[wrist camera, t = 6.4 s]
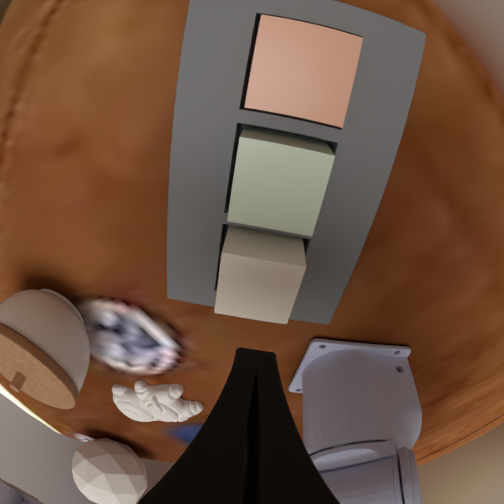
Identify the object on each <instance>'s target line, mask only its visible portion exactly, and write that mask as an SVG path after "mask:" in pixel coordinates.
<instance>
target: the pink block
mask: <svg viewBox="0 0 504 504" xmlns="http://www.w3.org/2000/svg"><path fill="white" fill-rule="evenodd" d="M362 41H363V38H362V37H359V36H355V35H352V34H349V33H345V32H342V31H338V30H335V29H331V28H327V27H323V26H319V25H315V24H310V23H306V22H301V21H296V20H291V19H286V18H280V17H274V16H268V15H261V18H260V23H259V29H258V34H257V39H256V45H255V50H254V56H253V61H252V67H251V72H250V78H249V84H248V90H247V95H246V101H245V108H252V109H258V110H263V111H269V112H274V113H280V114H285V115H290V116H295V117H299V118H304V119H309V120H313V121H317V122H321V123H326V124H330V125H334V126H338V127H341V128H343V124H344V120H345V116H346V112H347V108H348V104H349V100H350V95H351V91H352V87H353V82H354V78H355V74H356V69H357V65H358V60H359V55H360V51H361V46H362Z"/></svg>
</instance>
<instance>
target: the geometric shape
mask: <svg viewBox="0 0 504 504" xmlns="http://www.w3.org/2000/svg"><path fill="white" fill-rule="evenodd" d="M72 472H73V478H74V481H75V483H76V485H77V487H78V488H79V490H80V491H81V492H82V493H83V494H84V495H85V496H86V497H87V498H88V499H89V500H91V501H93V502H96V503H98V504H136V502H137V501H138V499H139V498H140V497H141V495H142V494H143V492H144V491H145V489H146V488H147V478H146V470H145V464H144V463H143V462H142V461H141V459H140V458H139V457H138V456H137V455H136V454H135V452H134V451H133V450H132V449H131V448H130V447H129V446H128V445H125V444H122V443H120V442H117V441H114V440H111V439H109V438H102V439H97V440H93V441H88V442H84V444H82V445H81V446H80V447H79V448H78V449H77V450H76V452H75V454H74V456H73V458H72Z"/></svg>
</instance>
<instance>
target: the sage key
mask: <svg viewBox="0 0 504 504" xmlns="http://www.w3.org/2000/svg"><path fill="white" fill-rule="evenodd" d="M334 158H335V155H334V153H333V152H332V150H331V149H330V147H329V146H328V144H327V143H326V141H324V140H319V139H315V138H311V137H306V136H302V135H297V134H292V133H287V132H282V131H277V130H272V129H266V128H261V127H255V126H249V125H245V127H244V129H243V131H242V133H241V135H240V138H239V144H238V151H237V157H236V164H235V170H234V177H233V184H232V190H231V197H230V204H229V211H228V218H227V221H229V222H234V223H240V224H246V225H252V226H257V227H263V228H268V229H274V230H279V231H285V232H290V233H296V234H301V235H306V236H312V235H313V232H314V228H315V225H316V222H317V218H318V215H319V212H320V208H321V205H322V201H323V198H324V194H325V191H326V187H327V184H328V180H329V177H330V173H331V169H332V166H333V162H334Z"/></svg>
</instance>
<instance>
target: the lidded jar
mask: <svg viewBox="0 0 504 504" xmlns="http://www.w3.org/2000/svg"><path fill="white" fill-rule="evenodd" d="M89 359H90V346H89V339H88V336H87V332H86V330H85V323H84V320H83V317H82V315H81V314H80V312H79V311H78V309H77V308H76V307H75V306H74V305H73V304H72V303H71V302H70V301H69V300H68V299H67V298H65V297H64V296H63V295H61V294H59V293H58V292H56V291H53V290H50V289H39V290H34V289H28V290H23V291H19V292H17V293H15V294H13V295H11V296H9V297H8V298H6V299H5V300H4V301H2V302H1V303H0V373H1V374H2V375H3V376H4V377H5V378H7V379H8V380H9V381H10V382H11V383H10V387H11V388H12V389H14V390H15V391H17V392H20V390H22V391H23V392H25V393H26V394H28V395H29V396H31V397H33V398H35V399H37V400H38V401H40V402H42V403H45V404H47V405H50V406H53V407H56V408H60V409H71V408H73V407H74V406H75V405H76V403H77V400H78V397H79V392H80V390H81V388H82V385H83V383H84V380H85V377H86V373H87V370H88V365H89Z"/></svg>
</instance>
